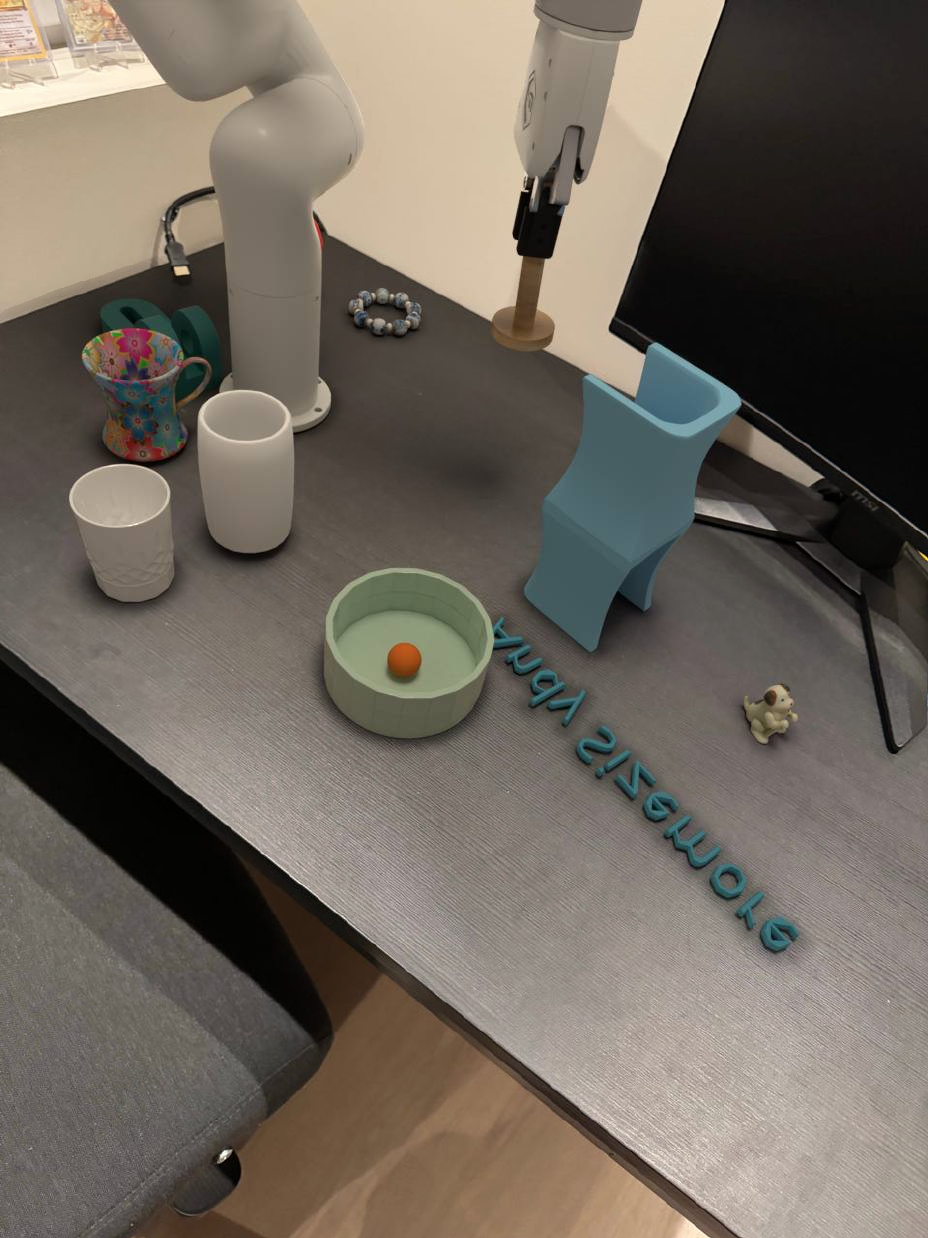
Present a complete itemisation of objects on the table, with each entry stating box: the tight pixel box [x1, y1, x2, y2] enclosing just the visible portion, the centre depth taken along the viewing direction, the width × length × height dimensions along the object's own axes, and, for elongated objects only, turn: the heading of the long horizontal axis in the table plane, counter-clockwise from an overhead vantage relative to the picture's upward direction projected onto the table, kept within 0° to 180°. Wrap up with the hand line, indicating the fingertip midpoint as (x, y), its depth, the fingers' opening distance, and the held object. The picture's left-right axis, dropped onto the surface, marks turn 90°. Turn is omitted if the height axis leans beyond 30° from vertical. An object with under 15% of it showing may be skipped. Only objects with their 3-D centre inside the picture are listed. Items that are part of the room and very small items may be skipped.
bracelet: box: [347, 287, 422, 336], centre depth 113 cm, size 10×10×2 cm
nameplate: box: [492, 616, 800, 952], centre depth 72 cm, size 37×1×5 cm
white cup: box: [68, 463, 175, 603], centre depth 74 cm, size 8×8×10 cm
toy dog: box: [742, 683, 799, 745], centre depth 76 cm, size 4×5×5 cm
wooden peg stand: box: [490, 180, 556, 352], centre depth 75 cm, size 6×6×14 cm
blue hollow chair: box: [523, 342, 742, 653], centre depth 76 cm, size 10×10×25 cm
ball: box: [387, 643, 422, 677], centre depth 73 cm, size 3×3×3 cm
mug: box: [81, 329, 211, 463], centre depth 86 cm, size 12×9×11 cm
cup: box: [196, 390, 295, 554], centre depth 78 cm, size 8×8×14 cm
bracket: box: [99, 298, 224, 402], centre depth 97 cm, size 18×7×8 cm, turn 42°
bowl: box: [323, 567, 495, 739], centre depth 73 cm, size 14×14×6 cm
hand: (531, 246), depth 74 cm, fingers closed on wooden peg stand
